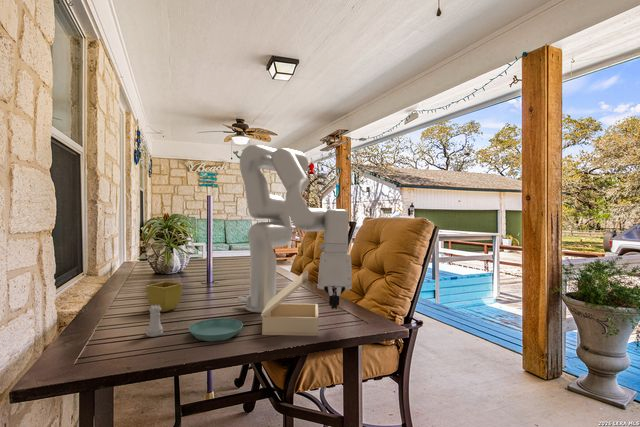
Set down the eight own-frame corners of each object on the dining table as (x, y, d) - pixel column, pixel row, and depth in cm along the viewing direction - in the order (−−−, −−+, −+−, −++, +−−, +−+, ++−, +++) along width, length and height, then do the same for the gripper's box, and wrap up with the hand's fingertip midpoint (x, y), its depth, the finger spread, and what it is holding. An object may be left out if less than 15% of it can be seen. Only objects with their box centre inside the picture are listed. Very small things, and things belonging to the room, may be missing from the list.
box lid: (262, 317, 98) (260, 314, 98) (269, 302, 115) (267, 300, 115) (307, 280, 99) (305, 278, 99) (308, 271, 115) (306, 269, 115)
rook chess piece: (151, 338, 94) (152, 308, 94) (142, 335, 96) (143, 306, 96) (166, 333, 97) (167, 305, 98) (157, 330, 100) (158, 303, 100)
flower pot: (144, 311, 119) (145, 285, 119) (164, 305, 127) (165, 281, 127) (163, 314, 116) (164, 287, 116) (183, 308, 124) (183, 283, 124)
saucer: (200, 326, 106) (200, 317, 106) (248, 327, 105) (248, 318, 105) (179, 343, 91) (179, 333, 91) (234, 345, 91) (235, 335, 91)
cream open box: (262, 334, 98) (262, 317, 98) (269, 318, 114) (269, 303, 114) (318, 335, 99) (318, 318, 99) (317, 318, 115) (317, 303, 115)
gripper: (311, 249, 103) (309, 310, 103) (361, 250, 104) (359, 311, 103) (311, 247, 111) (309, 304, 111) (357, 248, 111) (356, 305, 111)
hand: (334, 307), depth 107 cm, fingers closed
